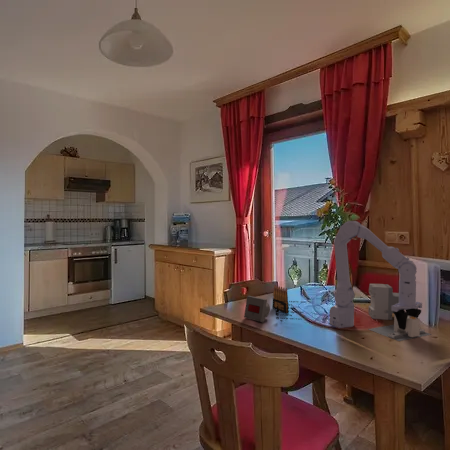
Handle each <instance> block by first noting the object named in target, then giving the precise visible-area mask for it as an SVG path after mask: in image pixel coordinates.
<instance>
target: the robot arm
mask: <svg viewBox="0 0 450 450" xmlns="http://www.w3.org/2000/svg"><path fill="white" fill-rule="evenodd" d="M355 237H357V238H358V239H359V238H360V239H364V240H366V241H368V242H369V244H371V245H372V246H373V247H375V248H376V249H377V250H378V251H380V252H381V257H382V258H383V259H384V260H385V261H386V262H387V263H389V264H390V265H391V266H392V267H393V268H395V269H397V271H398V273H399V280H398V293H399V303H397V304H395V305H392V306H391V311H393V313H392V314H394V315H395V316H396V319H397V322H398V325H399V328H400V329H403V330H405V328H406V321H407V317H408V315H409V316H412V317H416V318H419V317H420V315H421V314H422V309H423V303H422V302H419V301H416V300H417V281H416V280H417V276H416V274H417V266H416V264H415V262H413V261H412V260H410V257H406V256H405V255H404V254H402V252H400V249H399V248H398V247H394V246H388V245H387V244H386V243H385V242H384V241H382V239H380V238H379V237H378V236H377V235H376V234H375V233H374V232H372V230H371V229H369V228H367V226H365V225H363V224H362V223H360V222H359V221H357V220H348V221H345V222H344V223H343V224H342V225H341V226H339V230H338V232H337V234H336V235H335V237H334V239H333V247H334V258H335V269H336V279H337V280H336V281H337V284H336V288H335V289H336V292H335V295H334V300H335V304H334V305H333V306H331V307H330V308H329V319H328V320H329V321H328V323H329V325H332V326H333V327H336V328H338V329H343V328H352V327H354V325H355V304H354V302H353V300H354V299H355V295H356V294H355V291H354V290H353V287H352V286H353V285H352V283H351V279H350V278H351V276H350V267H349V266H350V265H349V257H348V256H349V255H348V245H347V244H348V243H350V242H351V240H352V239H353V238H355Z"/></svg>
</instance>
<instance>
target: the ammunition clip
mask: <svg viewBox="0 0 450 450" xmlns="http://www.w3.org/2000/svg"><path fill="white" fill-rule="evenodd" d="M272 296H273V298H272V305H271V306H272V309H273V310H275V311H276V310H279V312H280V311H281V312H280V313H283V314H284V315H286V314H289V313H290V312H289V311H290V307H289V303H290V302H289V296H288V289H287V287H286V288H285V287H282V286H280V285H276V284H274V285H273V294H272ZM277 299H278V300H279V302H278V301H277V302H276V300H277ZM280 301H283V302H280ZM285 301H286V302H285ZM287 301H288V302H287ZM277 304H278V305H277ZM280 304H283V305H280ZM285 304H288V306H287V305H285ZM277 306H278V309H277ZM280 307H284V309H280ZM285 308H286V309H285ZM287 308H288V309H287ZM282 311H284V312H282ZM285 311H286V312H285Z"/></svg>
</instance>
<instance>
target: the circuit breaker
mask: <svg viewBox="0 0 450 450" xmlns="http://www.w3.org/2000/svg"><path fill="white" fill-rule="evenodd" d="M368 293H369V296H370V305H368V310H367V311H368V315H369V317H371V319H374V320H385V321H386V320H387V321H389V320H390V321H393V314H394V313H393V311H391V306H392V305H395V304H397V303H399V292H394V291H393V286H391V285H389V284H388V283H387V284H384V283H369V286H368Z"/></svg>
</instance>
